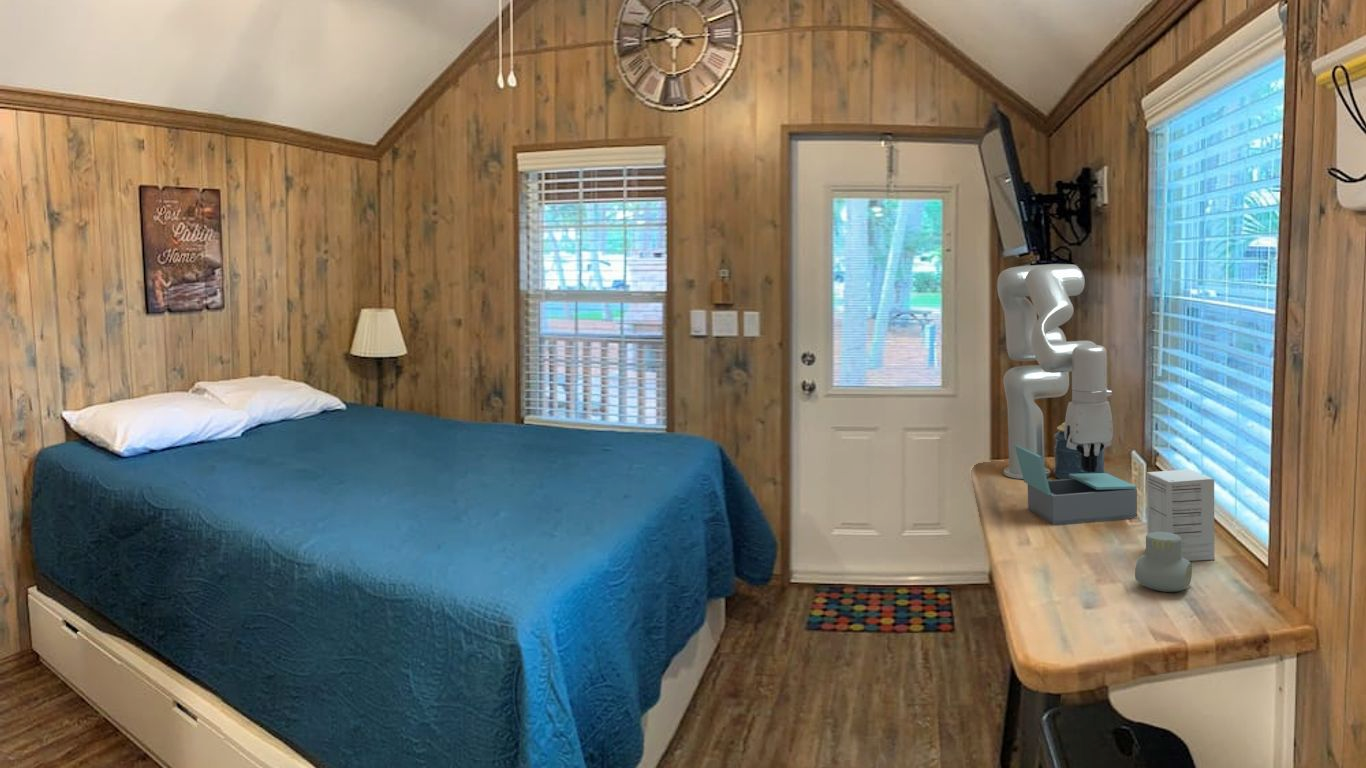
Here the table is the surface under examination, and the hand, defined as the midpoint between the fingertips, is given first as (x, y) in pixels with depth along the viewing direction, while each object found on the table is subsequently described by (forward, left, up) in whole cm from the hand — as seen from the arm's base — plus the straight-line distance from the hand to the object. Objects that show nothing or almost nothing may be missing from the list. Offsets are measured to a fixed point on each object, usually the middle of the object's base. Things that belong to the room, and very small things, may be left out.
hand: (1089, 470), depth 212 cm
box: (+1, -3, -10) cm, 11 cm away
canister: (-32, +13, -11) cm, 37 cm away
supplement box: (+33, +2, -11) cm, 34 cm away
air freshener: (+49, -11, -11) cm, 51 cm away
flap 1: (+1, -14, +2) cm, 14 cm away
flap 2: (+1, +3, -3) cm, 4 cm away
